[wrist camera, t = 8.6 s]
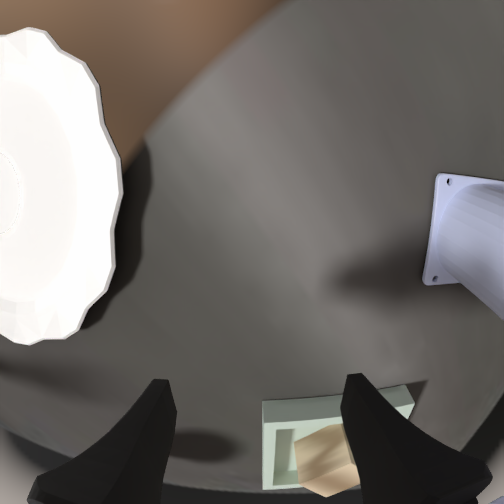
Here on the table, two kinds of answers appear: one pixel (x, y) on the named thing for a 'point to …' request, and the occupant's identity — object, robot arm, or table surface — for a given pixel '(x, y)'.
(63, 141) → the plate
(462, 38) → the table surface
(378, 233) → the table surface
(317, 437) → the maple cube
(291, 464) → the green tray
